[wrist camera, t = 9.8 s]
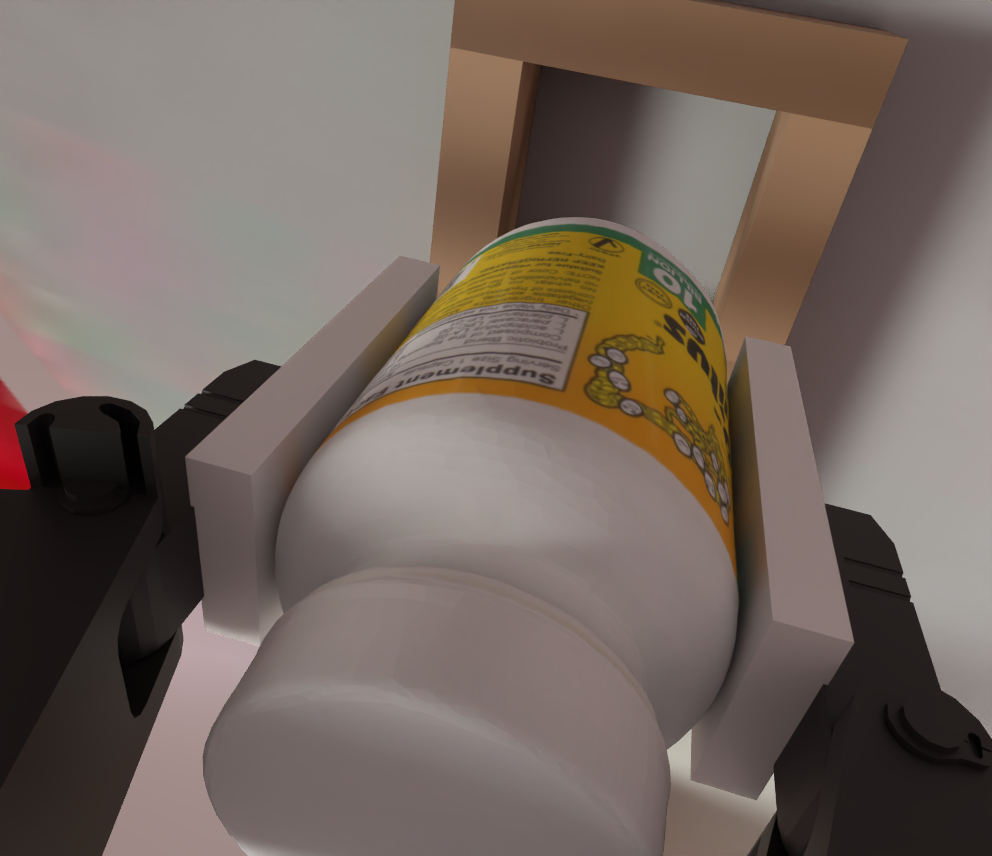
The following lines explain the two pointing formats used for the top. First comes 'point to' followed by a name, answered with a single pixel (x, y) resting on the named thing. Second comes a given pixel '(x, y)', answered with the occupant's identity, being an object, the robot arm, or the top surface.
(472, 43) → the socket block
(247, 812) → the supplement bottle
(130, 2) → the top surface
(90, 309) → the top surface
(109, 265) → the top surface
